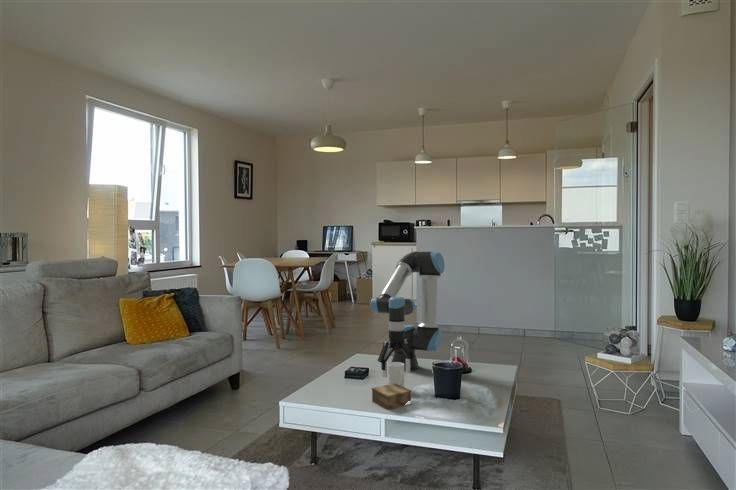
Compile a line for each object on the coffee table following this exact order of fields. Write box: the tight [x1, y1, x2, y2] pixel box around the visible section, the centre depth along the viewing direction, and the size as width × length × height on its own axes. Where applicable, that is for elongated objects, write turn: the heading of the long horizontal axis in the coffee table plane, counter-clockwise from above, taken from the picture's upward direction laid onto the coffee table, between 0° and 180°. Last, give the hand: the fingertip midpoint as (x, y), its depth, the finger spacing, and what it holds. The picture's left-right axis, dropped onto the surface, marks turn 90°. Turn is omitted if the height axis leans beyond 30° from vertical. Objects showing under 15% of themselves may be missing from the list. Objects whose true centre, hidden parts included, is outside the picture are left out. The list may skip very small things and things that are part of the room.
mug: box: [387, 361, 406, 388], centre depth 228 cm, size 12×8×12 cm
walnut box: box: [371, 384, 412, 411], centre depth 210 cm, size 12×12×6 cm
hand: (396, 374), depth 228 cm, fingers open, 13 cm apart
